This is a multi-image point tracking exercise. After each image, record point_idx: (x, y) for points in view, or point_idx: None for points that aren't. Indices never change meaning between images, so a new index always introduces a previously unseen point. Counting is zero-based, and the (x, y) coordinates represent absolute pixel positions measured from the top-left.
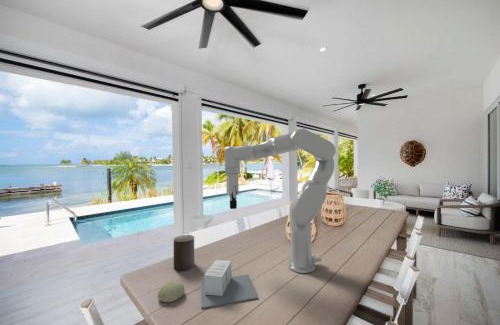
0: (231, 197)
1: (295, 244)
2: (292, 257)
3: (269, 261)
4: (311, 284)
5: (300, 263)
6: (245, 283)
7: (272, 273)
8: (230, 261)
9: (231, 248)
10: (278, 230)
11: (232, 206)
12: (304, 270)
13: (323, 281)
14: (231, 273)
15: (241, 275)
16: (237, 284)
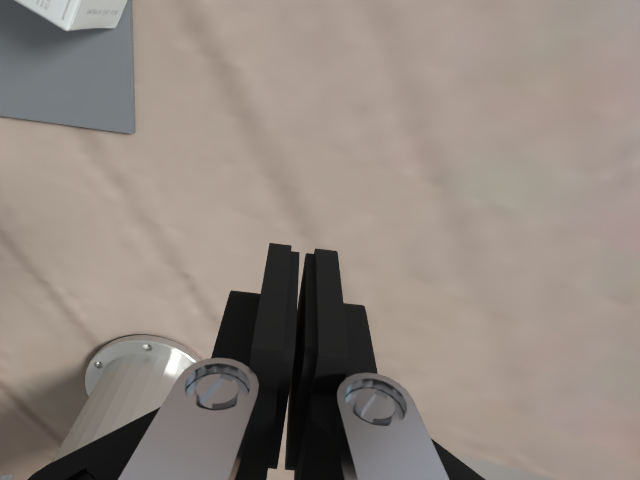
0: (138, 468)
1: (70, 449)
2: (128, 382)
3: (248, 287)
4: (5, 345)
5: (96, 385)
6: (44, 87)
7: (126, 250)
8: (61, 23)
9: (522, 150)
10: (590, 477)
11: (228, 300)
12: (88, 373)
13: (19, 390)
14: (100, 27)
15: (130, 93)
16: (41, 40)
